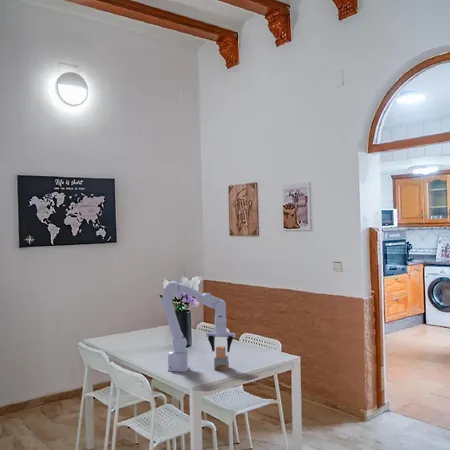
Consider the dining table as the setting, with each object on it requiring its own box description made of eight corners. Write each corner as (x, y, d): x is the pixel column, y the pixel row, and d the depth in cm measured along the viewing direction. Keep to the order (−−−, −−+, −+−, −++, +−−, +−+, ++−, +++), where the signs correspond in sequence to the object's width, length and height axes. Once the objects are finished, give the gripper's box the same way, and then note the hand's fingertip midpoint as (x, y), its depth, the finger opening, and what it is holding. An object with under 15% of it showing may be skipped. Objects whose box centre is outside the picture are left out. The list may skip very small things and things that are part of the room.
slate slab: (214, 364, 241) (214, 358, 241) (216, 361, 246) (216, 355, 246) (226, 365, 240) (226, 358, 240) (228, 361, 245) (228, 355, 245)
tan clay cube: (216, 358, 241) (215, 348, 241) (217, 356, 245) (217, 346, 245) (223, 358, 240) (223, 348, 240) (225, 356, 244) (225, 346, 244)
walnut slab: (214, 370, 241) (214, 364, 241) (217, 367, 246) (217, 361, 247) (226, 371, 239) (226, 365, 239) (228, 367, 245) (228, 361, 245)
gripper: (204, 325, 241) (204, 352, 240) (233, 326, 238) (233, 353, 237) (207, 322, 247) (208, 349, 247) (235, 323, 244) (236, 350, 244)
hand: (220, 351), depth 243 cm, fingers open, 7 cm apart
